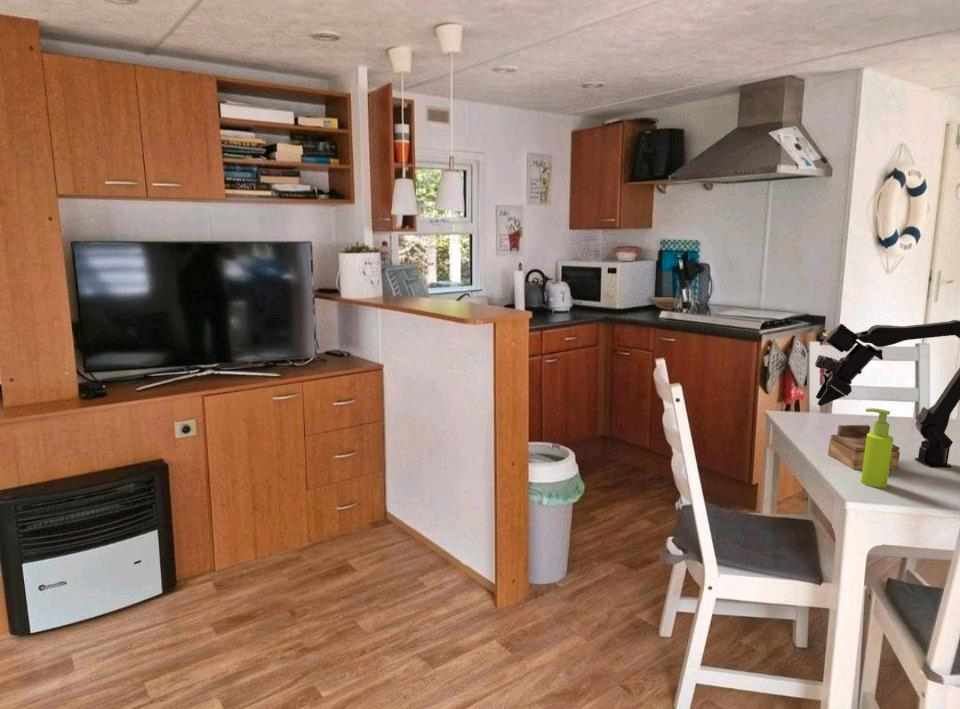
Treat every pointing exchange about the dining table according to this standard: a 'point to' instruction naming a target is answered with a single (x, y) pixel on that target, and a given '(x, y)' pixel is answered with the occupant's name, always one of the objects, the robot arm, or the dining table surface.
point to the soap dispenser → (877, 452)
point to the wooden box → (855, 455)
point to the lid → (854, 436)
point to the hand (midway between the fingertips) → (817, 401)
